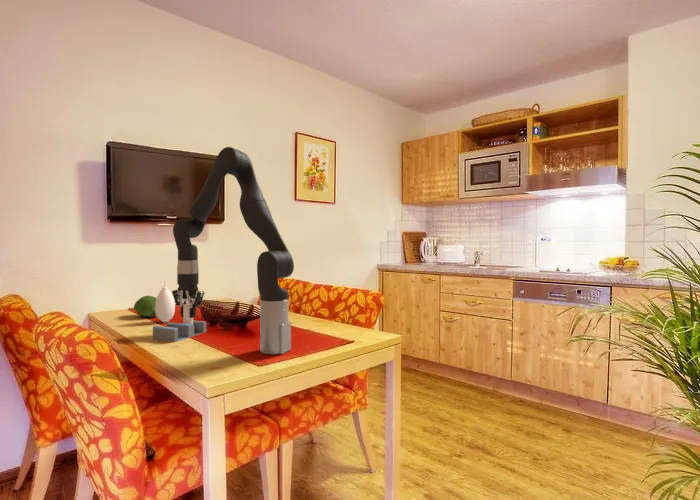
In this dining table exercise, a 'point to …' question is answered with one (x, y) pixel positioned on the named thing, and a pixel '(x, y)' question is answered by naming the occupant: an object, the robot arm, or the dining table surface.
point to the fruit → (146, 306)
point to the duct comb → (178, 331)
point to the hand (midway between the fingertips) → (188, 316)
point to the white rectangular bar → (187, 314)
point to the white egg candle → (164, 305)
